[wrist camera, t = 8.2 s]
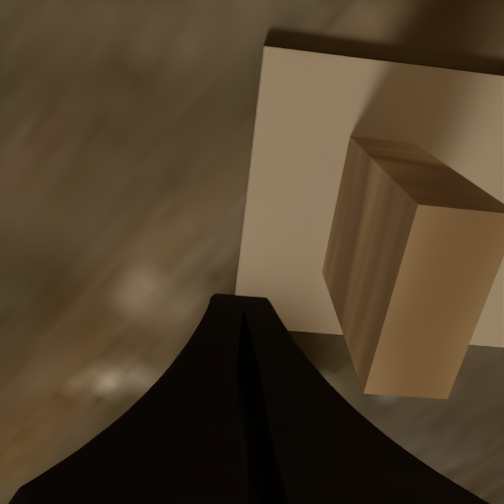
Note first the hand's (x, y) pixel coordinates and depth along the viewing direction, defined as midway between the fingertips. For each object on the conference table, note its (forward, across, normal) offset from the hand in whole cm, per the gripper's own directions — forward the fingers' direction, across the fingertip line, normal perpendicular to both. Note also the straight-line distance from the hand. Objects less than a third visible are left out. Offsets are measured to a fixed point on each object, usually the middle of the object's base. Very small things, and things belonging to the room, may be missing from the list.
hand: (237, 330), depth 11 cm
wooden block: (+9, -5, 0) cm, 10 cm away
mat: (+9, -7, 0) cm, 12 cm away
